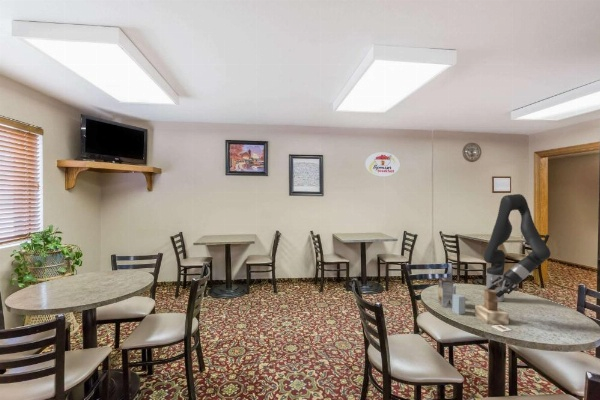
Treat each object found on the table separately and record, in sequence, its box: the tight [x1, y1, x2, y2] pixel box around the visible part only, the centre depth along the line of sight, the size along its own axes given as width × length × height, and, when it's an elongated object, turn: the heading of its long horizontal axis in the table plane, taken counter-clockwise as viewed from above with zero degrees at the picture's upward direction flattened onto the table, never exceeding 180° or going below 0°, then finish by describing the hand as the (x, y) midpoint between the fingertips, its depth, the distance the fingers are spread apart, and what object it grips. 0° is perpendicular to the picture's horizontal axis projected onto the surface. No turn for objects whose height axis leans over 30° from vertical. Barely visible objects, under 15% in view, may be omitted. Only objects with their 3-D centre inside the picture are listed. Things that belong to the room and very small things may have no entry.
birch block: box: [474, 304, 509, 325], centre depth 154 cm, size 11×11×6 cm
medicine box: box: [453, 284, 457, 295], centre depth 188 cm, size 8×4×9 cm, turn 47°
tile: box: [491, 324, 513, 333], centre depth 144 cm, size 6×6×1 cm
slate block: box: [451, 293, 466, 316], centre depth 163 cm, size 4×4×10 cm
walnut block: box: [483, 289, 499, 311], centre depth 155 cm, size 4×4×10 cm
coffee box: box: [437, 276, 454, 309], centre depth 175 cm, size 9×6×16 cm
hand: (493, 293), depth 154 cm, fingers open, 8 cm apart
